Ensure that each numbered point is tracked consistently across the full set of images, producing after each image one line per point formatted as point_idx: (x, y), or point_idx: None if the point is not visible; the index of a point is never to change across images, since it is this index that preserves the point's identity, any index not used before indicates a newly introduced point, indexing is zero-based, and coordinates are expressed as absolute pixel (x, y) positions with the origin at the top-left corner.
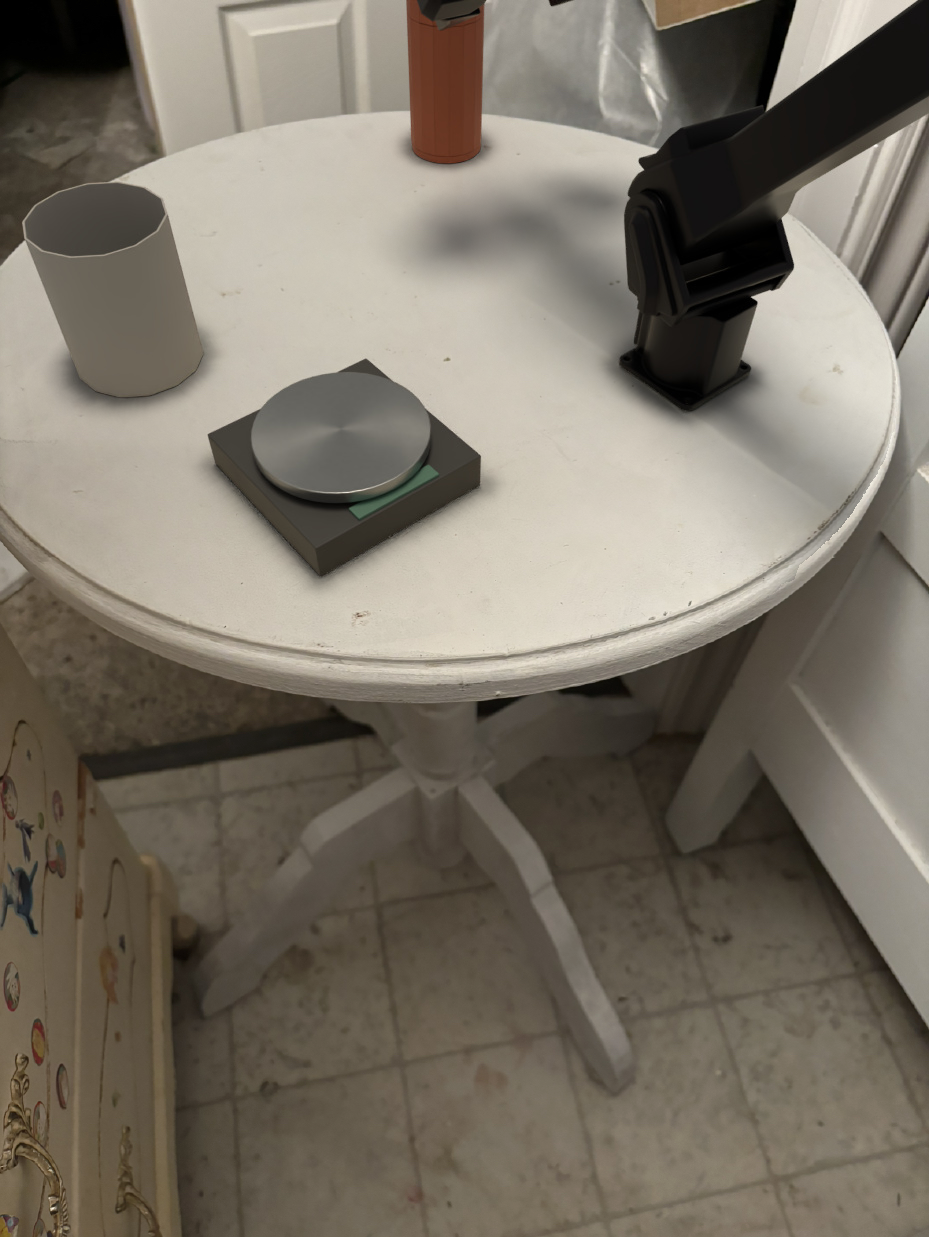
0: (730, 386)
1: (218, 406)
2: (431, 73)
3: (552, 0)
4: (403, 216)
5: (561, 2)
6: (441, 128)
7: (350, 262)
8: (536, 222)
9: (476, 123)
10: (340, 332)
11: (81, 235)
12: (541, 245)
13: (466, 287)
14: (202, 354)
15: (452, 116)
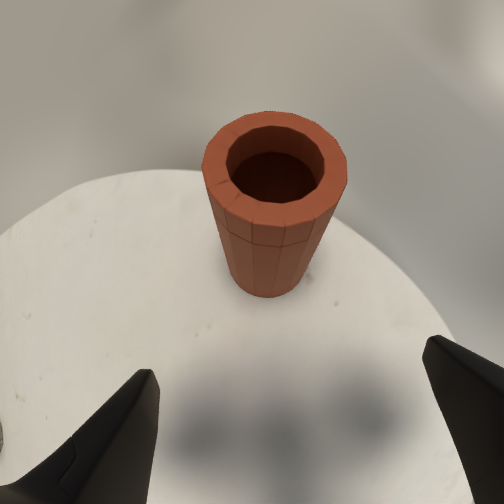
0: None
1: None
2: (231, 254)
3: (428, 362)
4: (166, 374)
5: (435, 395)
6: (246, 282)
7: None
8: (293, 439)
9: (294, 281)
10: None
11: None
12: (277, 475)
13: (178, 499)
14: (2, 444)
15: (258, 284)
